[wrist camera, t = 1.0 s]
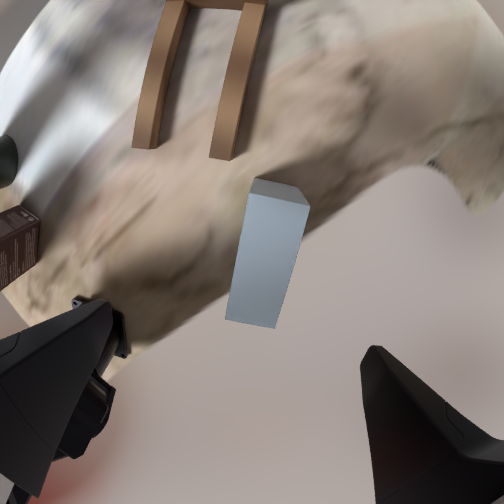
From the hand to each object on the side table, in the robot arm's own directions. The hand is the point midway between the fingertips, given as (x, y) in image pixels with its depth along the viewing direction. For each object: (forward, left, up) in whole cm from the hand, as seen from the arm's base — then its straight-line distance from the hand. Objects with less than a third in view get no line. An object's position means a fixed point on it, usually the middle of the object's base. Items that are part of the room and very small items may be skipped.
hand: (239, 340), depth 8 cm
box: (-6, +24, -13) cm, 28 cm away
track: (+10, +6, -13) cm, 18 cm away
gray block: (-1, -1, -13) cm, 13 cm away
